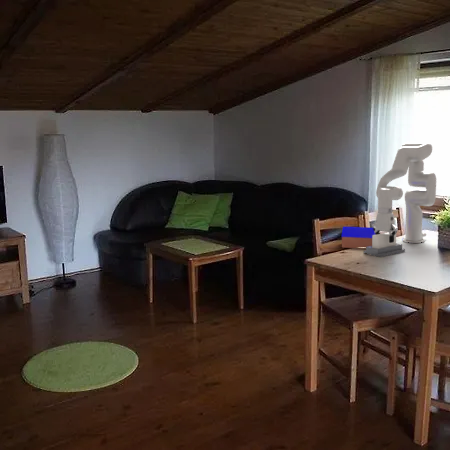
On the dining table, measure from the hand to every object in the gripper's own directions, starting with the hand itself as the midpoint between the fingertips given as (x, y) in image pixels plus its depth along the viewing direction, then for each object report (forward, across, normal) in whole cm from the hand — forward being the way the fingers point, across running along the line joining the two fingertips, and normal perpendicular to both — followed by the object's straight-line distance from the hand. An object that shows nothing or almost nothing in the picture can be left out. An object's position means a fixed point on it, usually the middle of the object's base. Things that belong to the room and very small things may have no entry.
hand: (384, 241), depth 303 cm
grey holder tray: (+6, 0, 0) cm, 7 cm away
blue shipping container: (+7, +20, -3) cm, 22 cm away
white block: (+5, 0, 0) cm, 5 cm away
